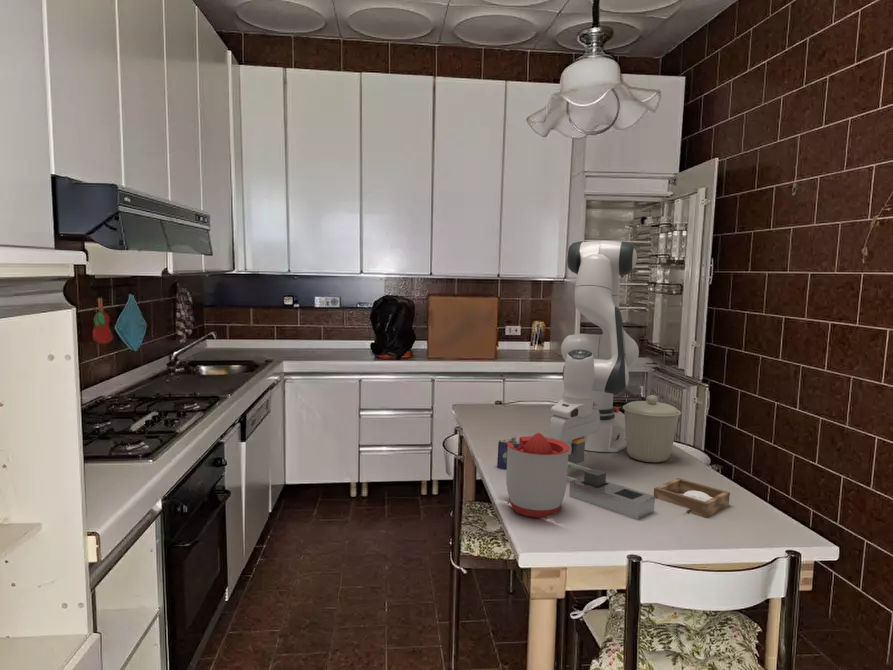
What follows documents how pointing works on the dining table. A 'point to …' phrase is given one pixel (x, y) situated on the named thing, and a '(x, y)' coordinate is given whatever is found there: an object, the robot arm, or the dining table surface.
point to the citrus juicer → (536, 475)
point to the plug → (577, 451)
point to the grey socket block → (614, 498)
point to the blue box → (504, 451)
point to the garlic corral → (695, 506)
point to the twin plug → (595, 478)
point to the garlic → (697, 495)
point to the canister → (650, 429)
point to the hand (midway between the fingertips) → (574, 451)
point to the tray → (576, 468)
